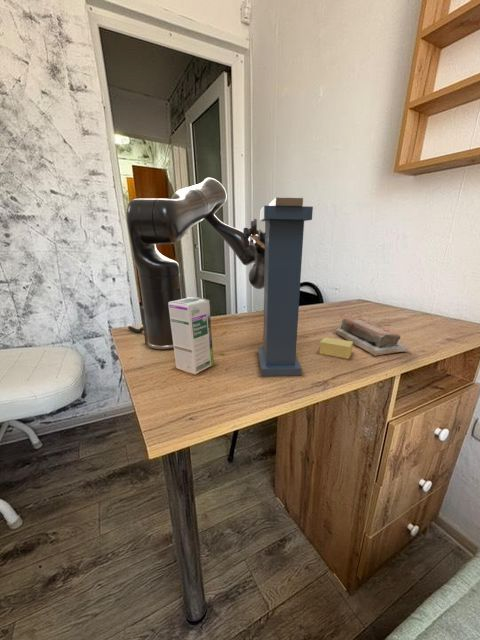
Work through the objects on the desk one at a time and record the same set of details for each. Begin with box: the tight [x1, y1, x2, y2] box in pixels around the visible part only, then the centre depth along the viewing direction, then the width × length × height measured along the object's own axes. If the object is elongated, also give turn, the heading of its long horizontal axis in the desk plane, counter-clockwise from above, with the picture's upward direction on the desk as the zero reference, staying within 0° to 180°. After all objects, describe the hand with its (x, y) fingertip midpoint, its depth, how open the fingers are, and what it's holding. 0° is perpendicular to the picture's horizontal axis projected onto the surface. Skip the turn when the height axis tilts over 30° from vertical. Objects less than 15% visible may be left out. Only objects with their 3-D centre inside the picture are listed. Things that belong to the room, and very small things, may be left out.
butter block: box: [318, 336, 354, 360], centre depth 70 cm, size 7×4×3 cm, turn 64°
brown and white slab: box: [268, 196, 304, 206], centre depth 58 cm, size 4×24×2 cm, turn 4°
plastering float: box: [335, 316, 409, 357], centre depth 78 cm, size 18×5×10 cm
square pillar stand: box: [257, 205, 314, 377], centre depth 59 cm, size 8×12×31 cm, turn 4°
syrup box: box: [168, 296, 215, 376], centre depth 60 cm, size 6×6×14 cm
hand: (272, 222), depth 71 cm, fingers open, 8 cm apart
